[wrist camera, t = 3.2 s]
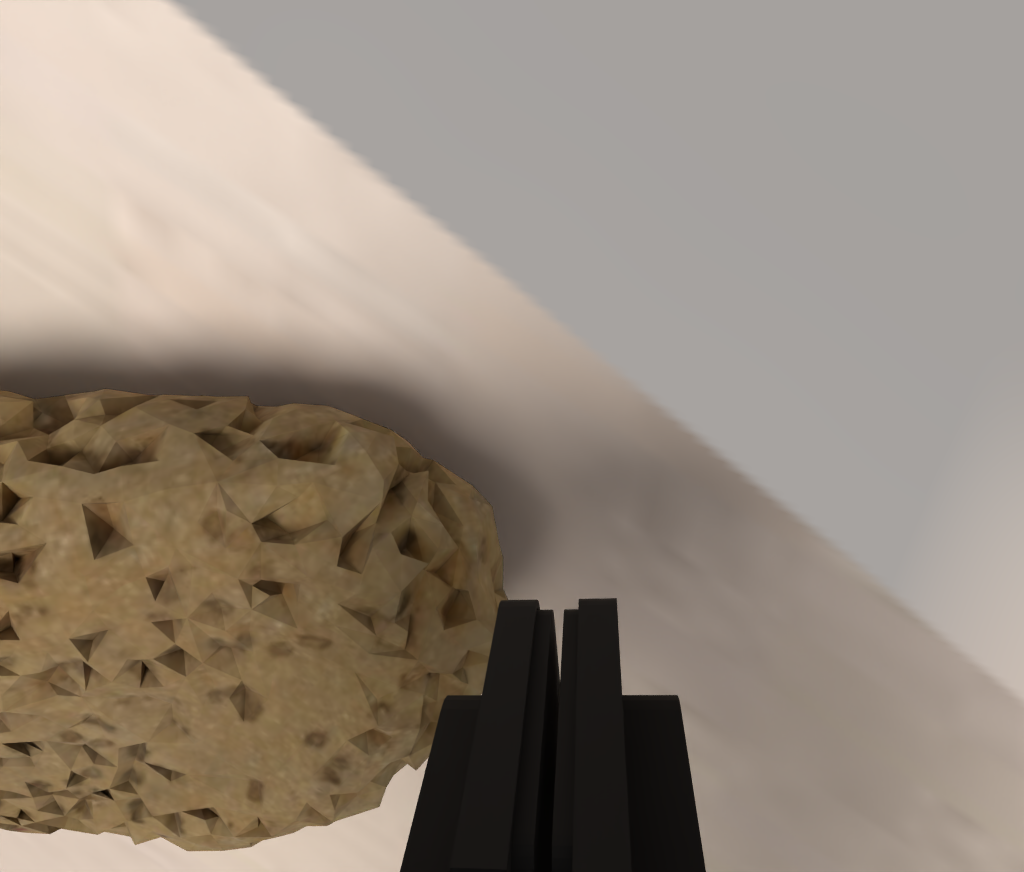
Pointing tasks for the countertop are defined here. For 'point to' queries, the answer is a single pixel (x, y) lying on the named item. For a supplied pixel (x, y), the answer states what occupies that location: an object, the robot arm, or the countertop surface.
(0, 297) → the countertop surface
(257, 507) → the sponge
